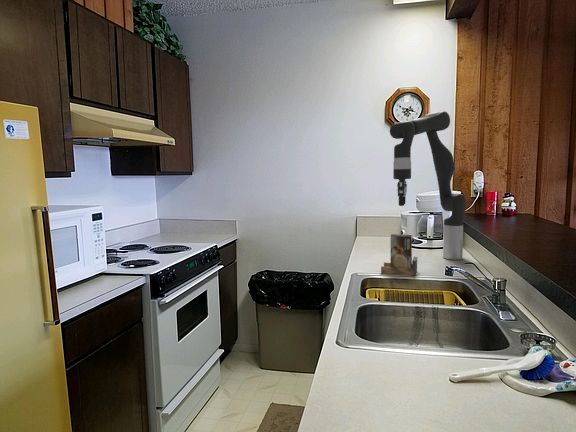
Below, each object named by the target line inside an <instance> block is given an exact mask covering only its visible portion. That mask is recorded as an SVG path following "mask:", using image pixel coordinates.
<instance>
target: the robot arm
mask: <svg viewBox="0 0 576 432" xmlns="http://www.w3.org/2000/svg"><path fill="white" fill-rule="evenodd" d="M450 124H451V116H450V115H449V113H448V112H447V111H445V110H438V111H433V112H430V113H427V114H425V115H424V116H423V117H419V118H418V117H417V118H414V119H410V120H406V121H399V122H394V123H392V125H390V127H389V134H390V136H391V138H393V139H395V140H396V139H397V140H399V139H402V141H401V142H400V143H398V144H395V145H394V146H393V175H392V177H393V180H398V182H397V183H396V185H397V190H396V191H397V197H398V206H399V207H404V206H405V205H406V196H407V192H408V189H407V187H408V182H407V181H406V180H410V179H412V160H411V159H412V158H411V156H412V155H411V148H412V144H413V141H414V137H415V136H416V135H419V134H424V133H426V136H427V137H426V138H427V139H428V143H429V147H430V150H431V155H432V159H433V160H432V161H433V165H434V170H435V174H436V179H437V184H438V191H439V202H440V206H441V208H442V209H443V210H444V211H446V212H451V215H450V216H449V217H447V218H445V219H444V220H443V238H442V239H443V242H442V245H443V247H442V258H444V259H447V260H455V261H456V260H463V256H464V254H463V251H464V238H463V237H464V222H465V219H466V209H467V199H466V197H465V195H463V194H462V193H453V192H452V189H451V181H452V178H453V175H454V172H455V168H456V167H455V161H454V157H453V154H452V152H451V151H450V150H449V149H448V148H447V146H446V145H445V144H443V142H442V141H441V140H440V138H439V135H438V132H441V131H445V130H447V129H448V128H449V127H450Z"/></svg>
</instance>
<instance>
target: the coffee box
mask: <svg viewBox="0 0 576 432" xmlns="http://www.w3.org/2000/svg"><path fill="white" fill-rule="evenodd" d="M412 237H413V236H412V234H393V233H392V234H391V235H390V259H389V260H390V262H389V263H391V267H398V268H412V260H413V252H412V250H413V247H412V245H413V238H412Z"/></svg>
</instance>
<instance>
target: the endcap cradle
mask: <svg viewBox="0 0 576 432" xmlns="http://www.w3.org/2000/svg"><path fill="white" fill-rule="evenodd" d="M380 270H381V271H380V273H381V274H382V275H395V276H410V277H416V276H417V274H416V273H418V256H413V257H412V268H398V267H391V263H390V262H385V261H384V262H383V266H381V267H380Z"/></svg>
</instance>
